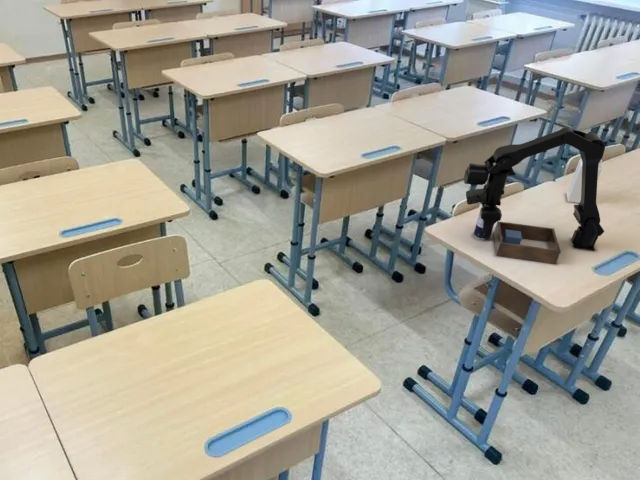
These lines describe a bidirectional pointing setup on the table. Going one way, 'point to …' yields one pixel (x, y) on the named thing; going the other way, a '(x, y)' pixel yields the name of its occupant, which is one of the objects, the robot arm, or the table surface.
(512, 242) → the block
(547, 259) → the wooden tray
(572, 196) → the milk carton
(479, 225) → the beverage can
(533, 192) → the table surface
